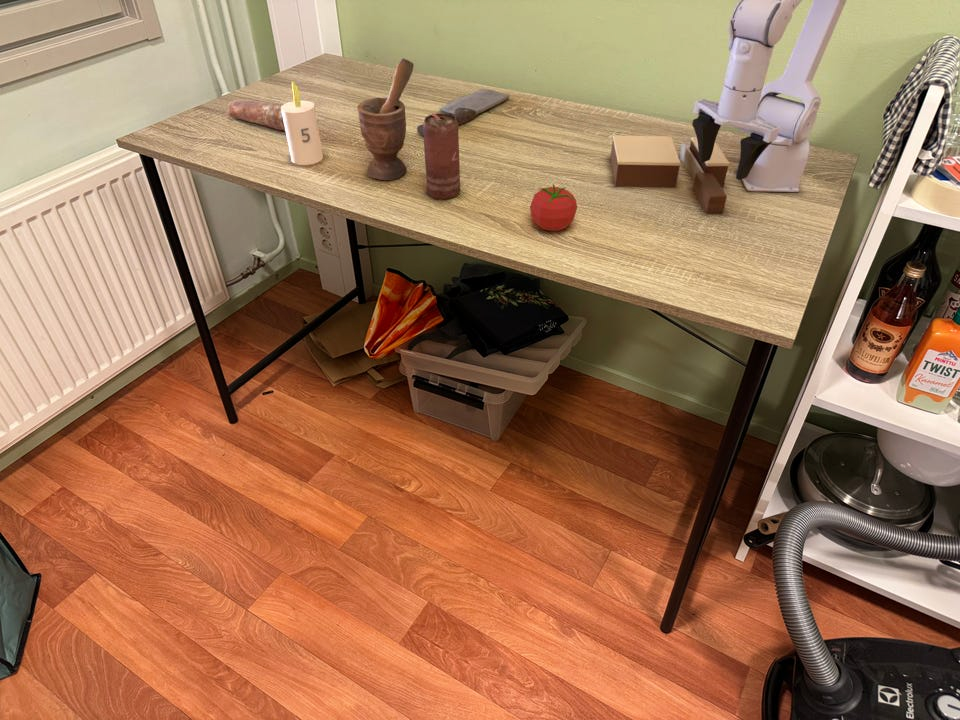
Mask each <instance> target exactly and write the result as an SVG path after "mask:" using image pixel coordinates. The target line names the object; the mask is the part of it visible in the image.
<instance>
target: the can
mask: <svg viewBox="0 0 960 720" xmlns="http://www.w3.org/2000/svg"><path fill="white" fill-rule="evenodd" d="M422 124H423V135H422V136H423V145H424V146H423V150H424V165H425V179H426V180H425V181H426V192H427V194H428V195H429V196H430V197H431V198H433V200H434V199H435V200H438V201H448V200H453V199H455V198H456V197H457V196H458V195H459V194H460V192H461V173H460V171H461V169H460V138H459V136H460V134H459V125H458V122H457V120H456V118H455V117H454V116H453V115H452V114H451V113H447V112H438V113H431V114H429V115H427V116H425V118H424V121H423V123H422Z"/></svg>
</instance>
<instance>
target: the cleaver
mask: <svg viewBox="0 0 960 720" xmlns="http://www.w3.org/2000/svg"><path fill="white" fill-rule="evenodd" d="M509 98H510V95H509V94H506V93H503V92H500V91H495V90H491V89H481V90H477V91H475V92H472V93H469V94H466V95H464V96H461V97H459V98H457V99H455V100H453V101H451V102H449V103H447V104H445V105H443V106H442V107H440V108H439V110H440V111H442V112H444V113H447V114H451V115H453V116H454V117H455V118H456V120H457V122H458V126H460V125H463V124H464V123H467V122H469V121H472V120H473V119H475V118H477V115H478V114H481V113H483V112H485V111H488V110H490V109H492V108H494V107H496V106H498V105H500V104H502V103H503V102H505V101H507V100H508V99H509ZM416 127H417V128H416V132H417V134H419V135H422V136H424V135H423V123H422V124H419V125H417V126H416Z"/></svg>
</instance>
